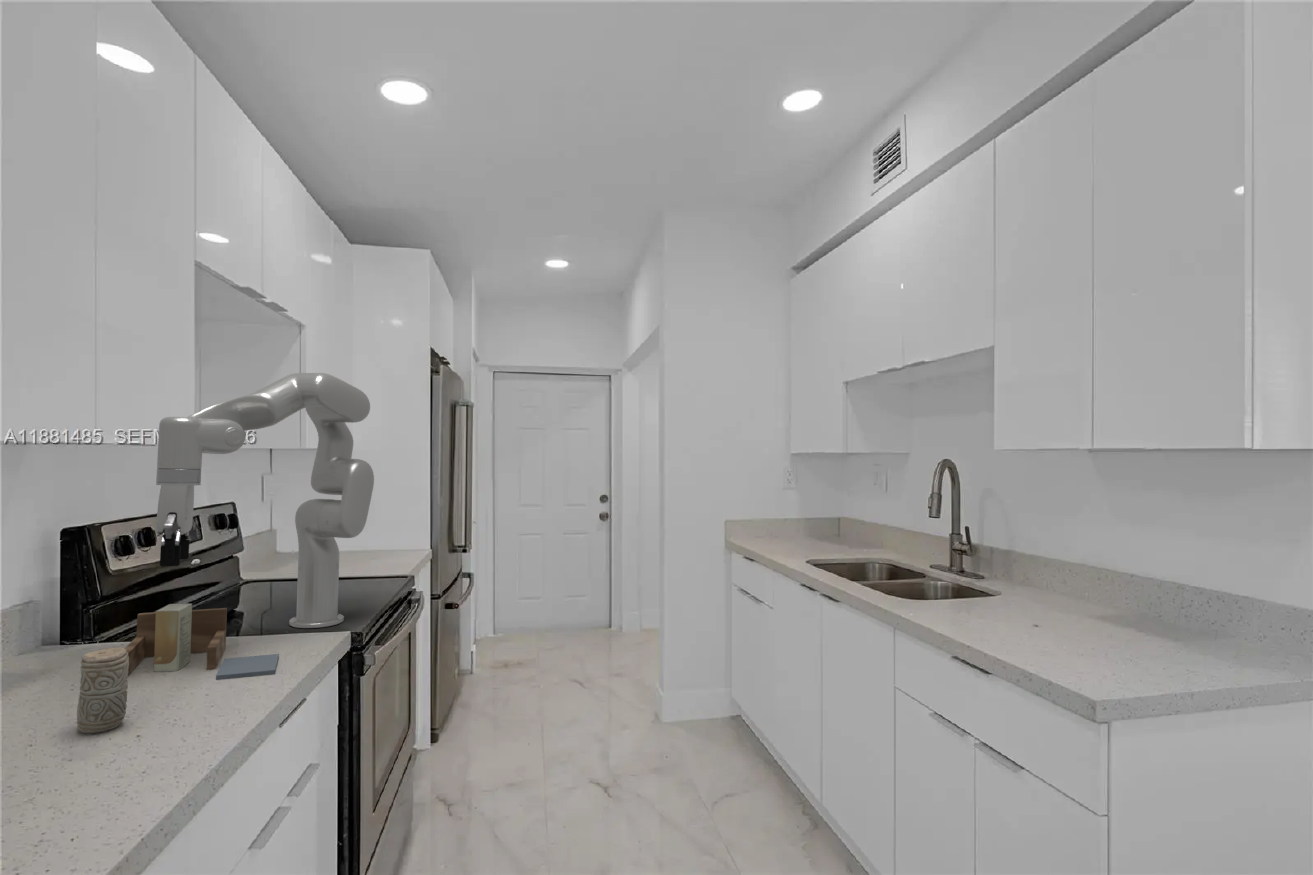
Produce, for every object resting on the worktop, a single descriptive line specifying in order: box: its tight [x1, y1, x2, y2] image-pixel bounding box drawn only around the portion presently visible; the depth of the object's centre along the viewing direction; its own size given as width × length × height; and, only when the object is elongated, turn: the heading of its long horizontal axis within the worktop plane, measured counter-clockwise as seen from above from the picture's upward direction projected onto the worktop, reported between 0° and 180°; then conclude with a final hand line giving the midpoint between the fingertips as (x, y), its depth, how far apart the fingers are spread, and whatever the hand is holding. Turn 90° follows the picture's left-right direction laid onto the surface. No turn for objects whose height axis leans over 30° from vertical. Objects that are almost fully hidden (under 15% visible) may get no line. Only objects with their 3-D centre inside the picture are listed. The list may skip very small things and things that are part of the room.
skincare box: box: [153, 603, 193, 673], centre depth 142 cm, size 6×4×12 cm
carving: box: [76, 646, 129, 734], centre depth 112 cm, size 6×8×12 cm
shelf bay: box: [124, 607, 228, 677], centre depth 145 cm, size 16×16×9 cm
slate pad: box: [215, 653, 280, 681], centre depth 143 cm, size 12×10×1 cm
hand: (174, 562), depth 142 cm, fingers open, 9 cm apart
